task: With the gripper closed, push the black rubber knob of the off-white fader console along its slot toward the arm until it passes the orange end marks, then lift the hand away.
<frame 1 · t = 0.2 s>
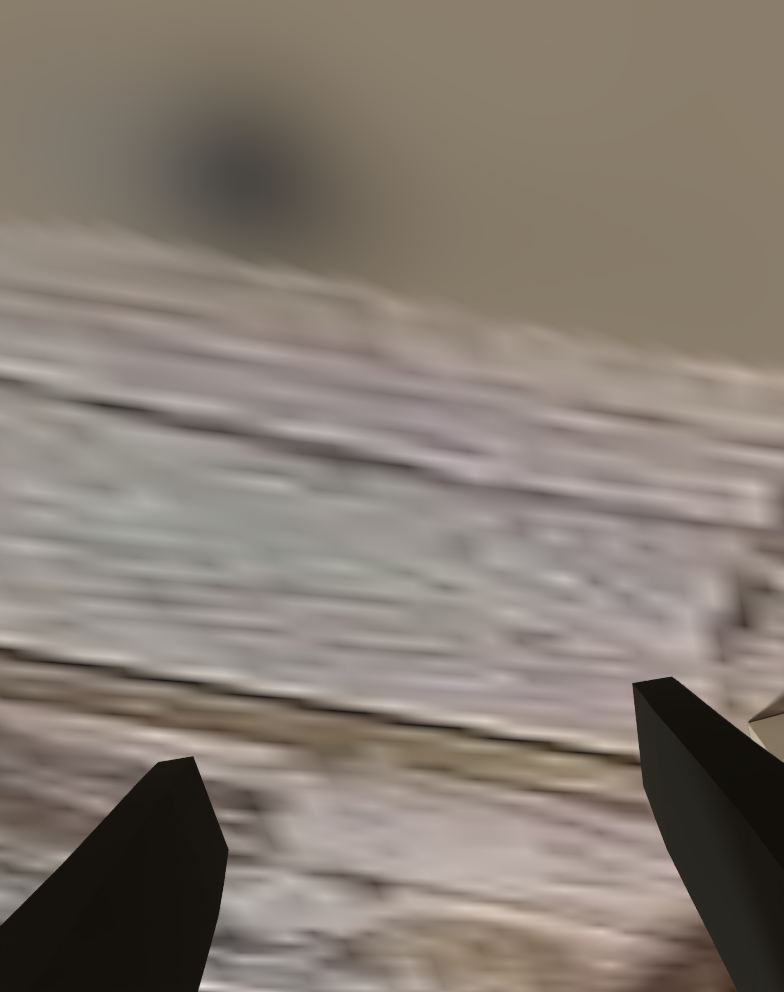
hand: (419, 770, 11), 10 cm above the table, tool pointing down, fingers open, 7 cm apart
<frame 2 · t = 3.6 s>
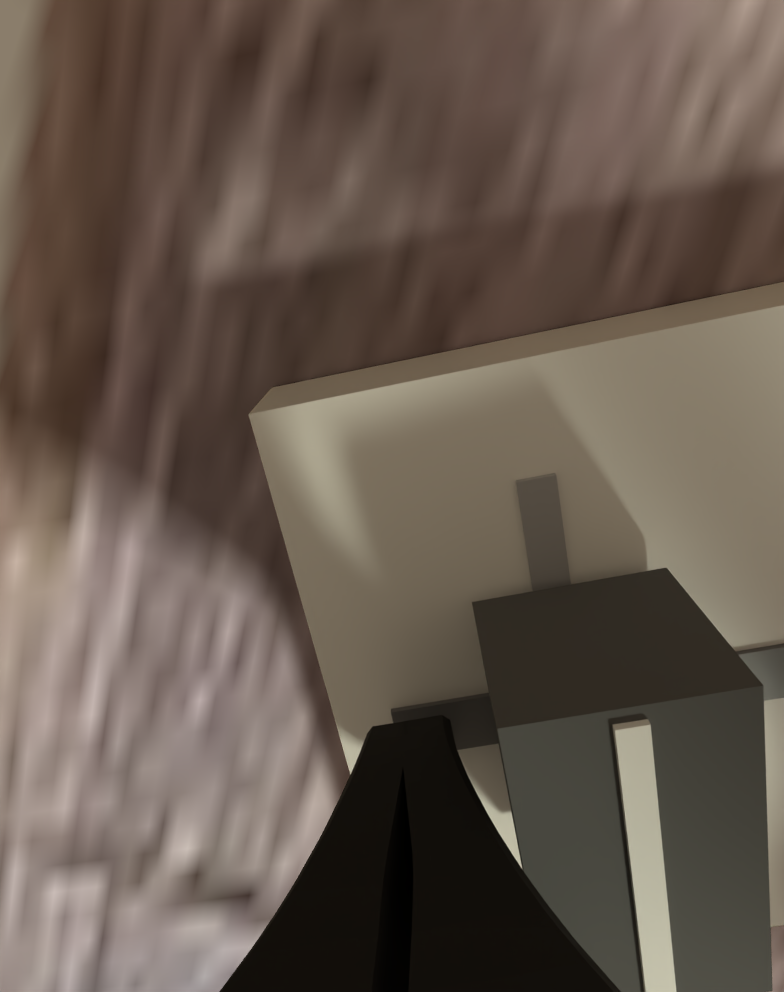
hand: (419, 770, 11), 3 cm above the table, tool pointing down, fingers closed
fader knob: (612, 785, 10), point 4 cm above the table, slide at 0.2 cm, touching gripper
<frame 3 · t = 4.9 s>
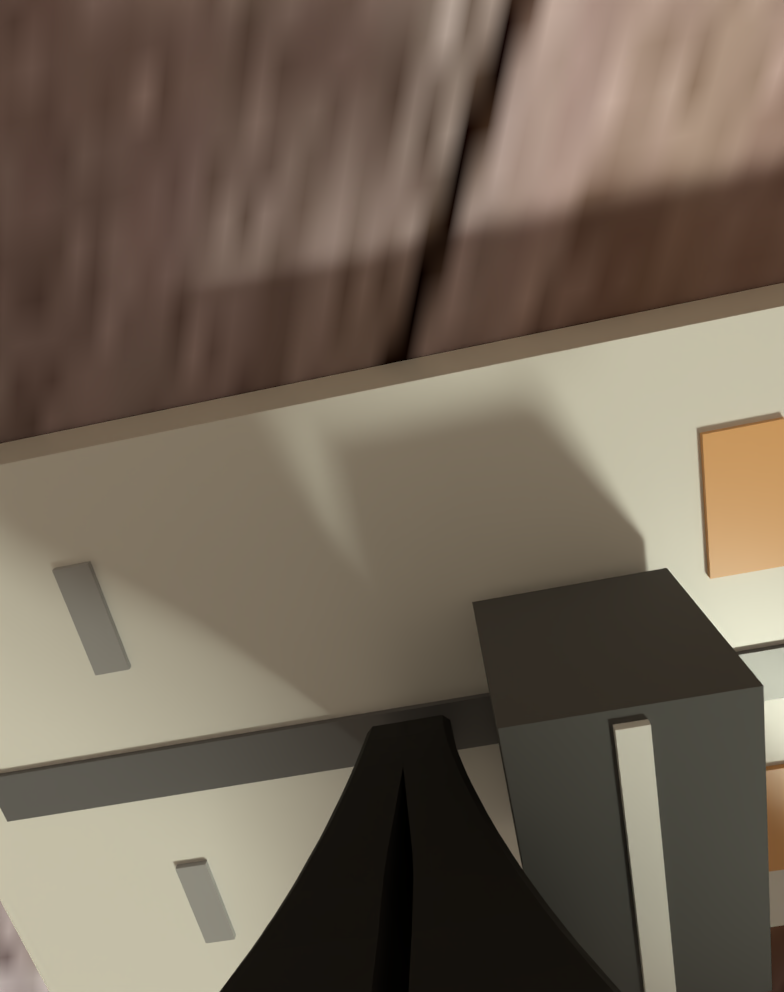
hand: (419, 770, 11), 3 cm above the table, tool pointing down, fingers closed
fader console: (473, 653, 14), on the table
fader knob: (612, 785, 10), point 4 cm above the table, slide at 7.7 cm, touching gripper
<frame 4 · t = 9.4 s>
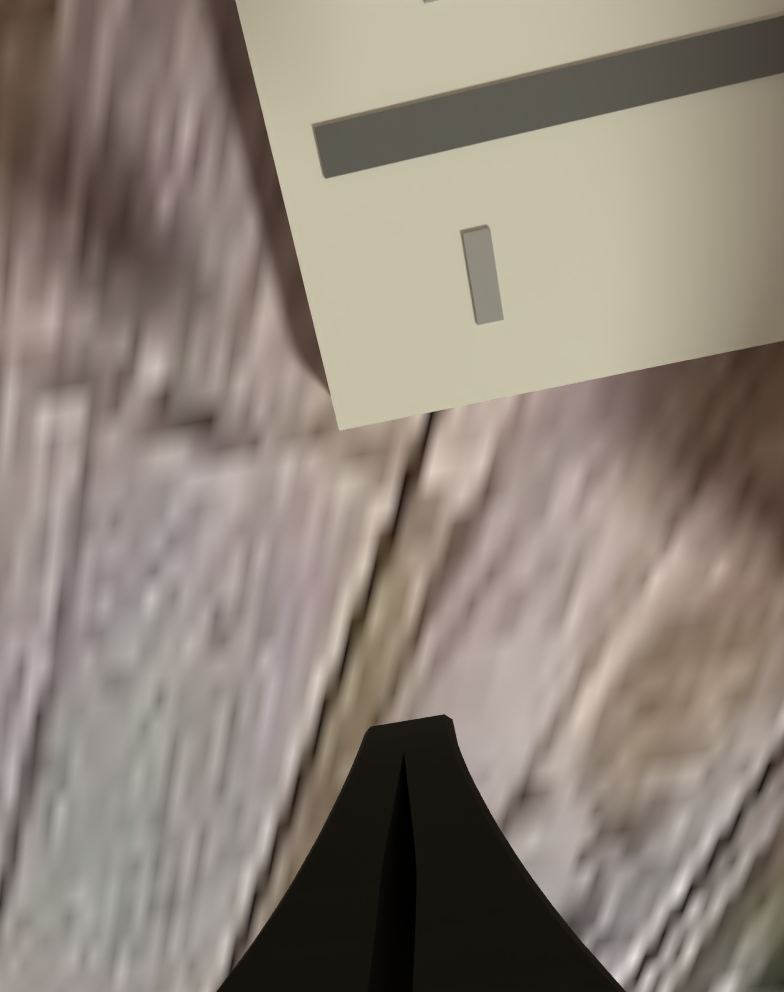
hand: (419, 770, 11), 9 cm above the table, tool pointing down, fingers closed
fader console: (708, 75, 16), on the table
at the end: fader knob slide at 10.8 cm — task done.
